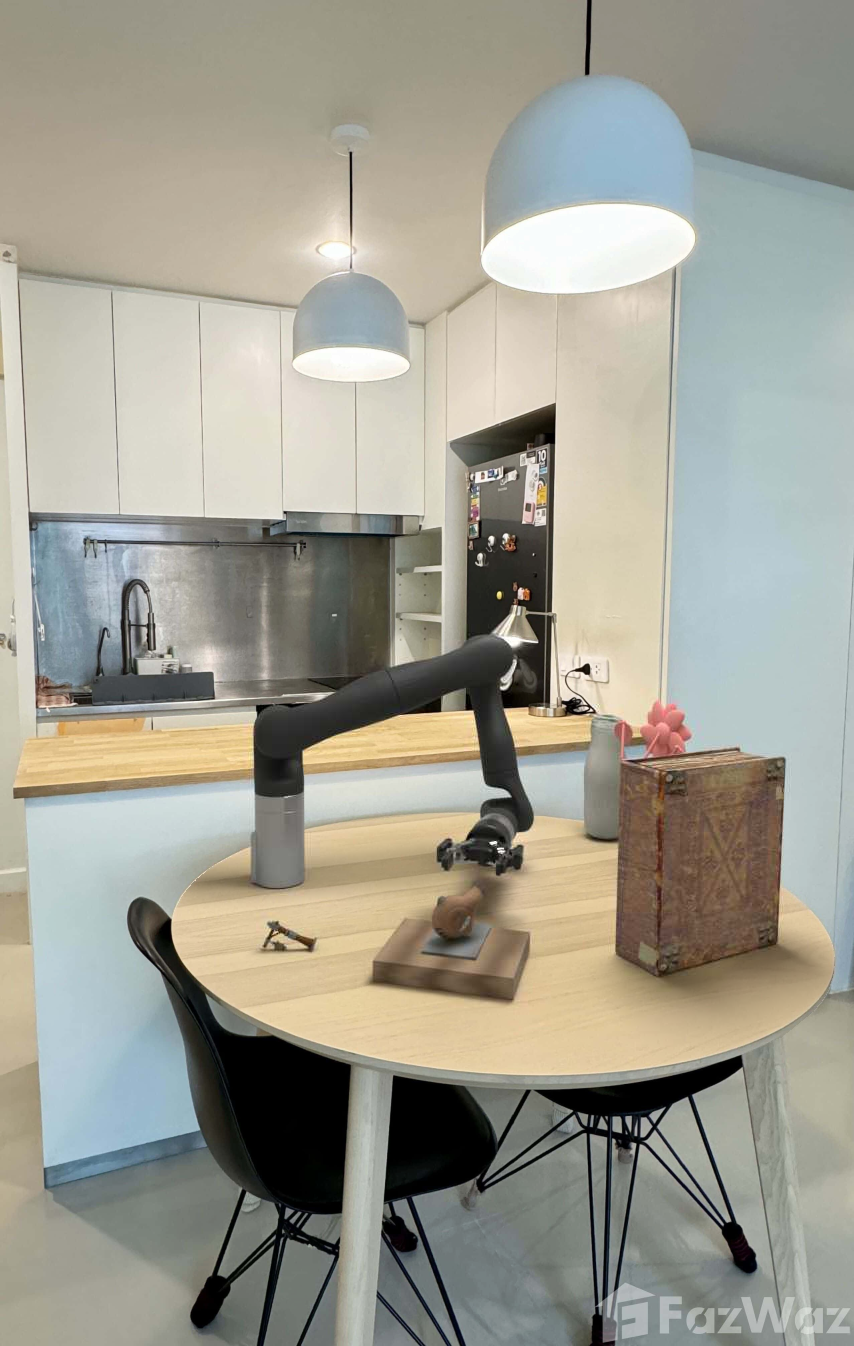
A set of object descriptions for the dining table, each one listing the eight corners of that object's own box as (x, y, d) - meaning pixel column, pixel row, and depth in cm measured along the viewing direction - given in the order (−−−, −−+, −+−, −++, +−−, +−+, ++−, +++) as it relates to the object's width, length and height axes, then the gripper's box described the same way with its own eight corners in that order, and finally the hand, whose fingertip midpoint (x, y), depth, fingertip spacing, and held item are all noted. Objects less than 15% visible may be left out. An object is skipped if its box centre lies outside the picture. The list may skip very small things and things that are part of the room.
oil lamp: (478, 926, 127) (478, 876, 127) (492, 936, 124) (493, 884, 123) (427, 938, 123) (427, 885, 122) (440, 948, 120) (441, 894, 119)
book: (731, 923, 138) (739, 746, 135) (778, 944, 130) (787, 756, 127) (614, 953, 126) (620, 760, 123) (657, 978, 118) (665, 772, 115)
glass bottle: (623, 832, 191) (627, 712, 188) (629, 845, 181) (633, 718, 178) (580, 830, 192) (583, 711, 189) (584, 843, 182) (587, 717, 179)
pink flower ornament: (677, 912, 142) (687, 711, 140) (587, 867, 166) (595, 694, 163) (743, 901, 149) (755, 708, 146) (648, 859, 172) (657, 693, 169)
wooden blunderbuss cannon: (259, 941, 128) (270, 915, 127) (306, 961, 128) (318, 936, 128) (256, 946, 126) (268, 920, 126) (304, 967, 126) (316, 941, 126)
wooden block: (372, 980, 117) (372, 957, 116) (404, 935, 132) (404, 915, 132) (513, 999, 112) (513, 975, 111) (529, 950, 127) (530, 929, 127)
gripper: (452, 815, 149) (429, 840, 134) (530, 821, 146) (516, 848, 130) (451, 855, 150) (428, 885, 135) (530, 862, 146) (515, 894, 131)
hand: (471, 867), depth 132 cm, fingers open, 8 cm apart
